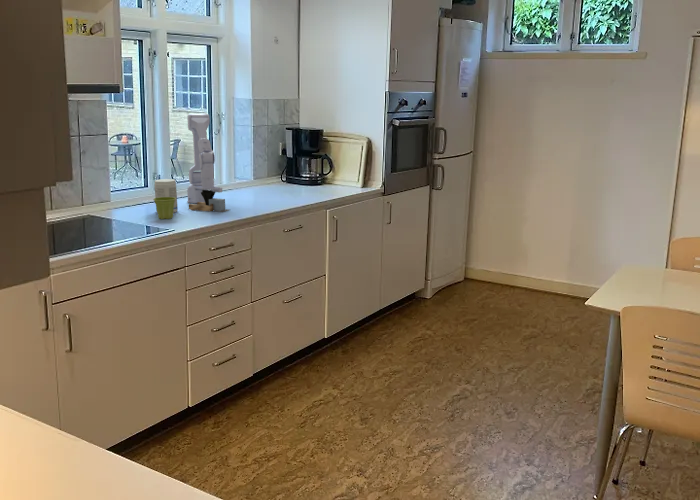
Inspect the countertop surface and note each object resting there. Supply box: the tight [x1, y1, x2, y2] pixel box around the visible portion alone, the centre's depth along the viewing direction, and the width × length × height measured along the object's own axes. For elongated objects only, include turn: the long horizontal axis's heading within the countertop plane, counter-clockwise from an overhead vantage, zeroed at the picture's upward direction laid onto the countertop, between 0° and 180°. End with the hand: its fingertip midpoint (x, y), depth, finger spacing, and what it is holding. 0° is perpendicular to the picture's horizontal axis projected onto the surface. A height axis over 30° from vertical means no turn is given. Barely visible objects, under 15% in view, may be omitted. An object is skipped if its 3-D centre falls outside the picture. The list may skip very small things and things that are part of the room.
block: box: [209, 197, 226, 212], centre depth 323 cm, size 6×4×5 cm
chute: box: [188, 202, 214, 212], centre depth 326 cm, size 13×8×4 cm, turn 68°
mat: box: [215, 208, 230, 213], centre depth 323 cm, size 6×6×1 cm
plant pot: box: [153, 197, 176, 220], centre depth 302 cm, size 9×9×9 cm
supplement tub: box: [154, 178, 178, 214], centre depth 316 cm, size 10×10×15 cm
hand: (208, 206), depth 325 cm, fingers closed
